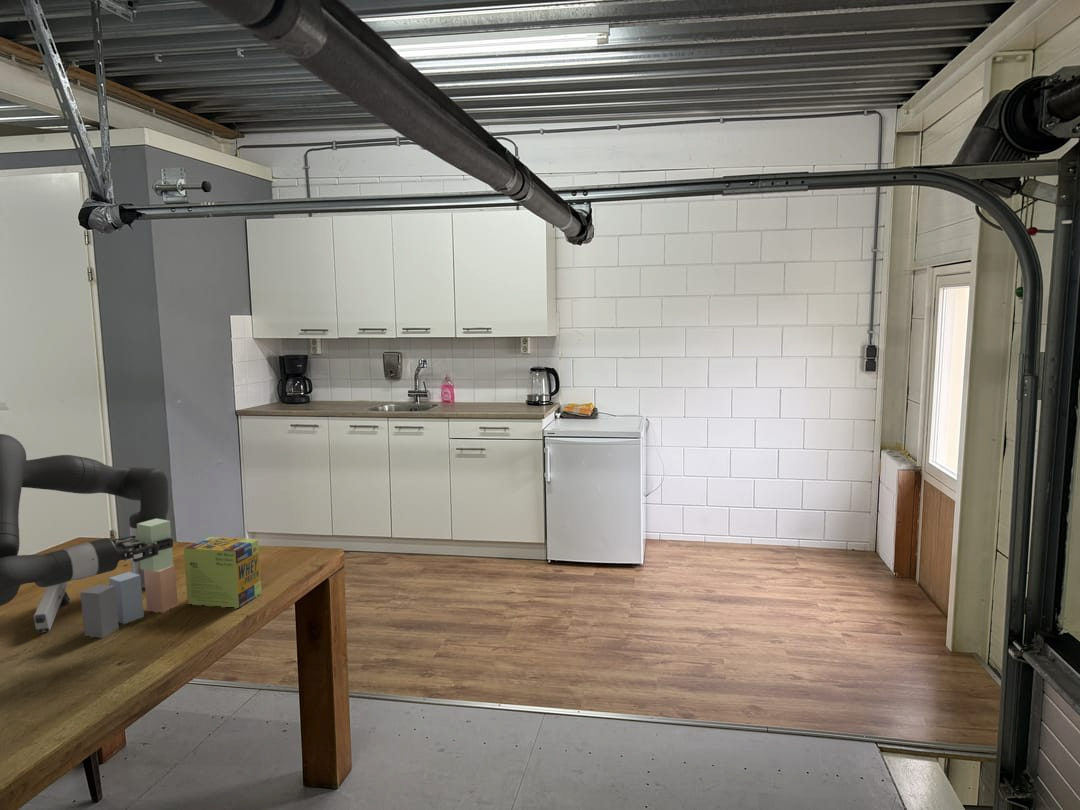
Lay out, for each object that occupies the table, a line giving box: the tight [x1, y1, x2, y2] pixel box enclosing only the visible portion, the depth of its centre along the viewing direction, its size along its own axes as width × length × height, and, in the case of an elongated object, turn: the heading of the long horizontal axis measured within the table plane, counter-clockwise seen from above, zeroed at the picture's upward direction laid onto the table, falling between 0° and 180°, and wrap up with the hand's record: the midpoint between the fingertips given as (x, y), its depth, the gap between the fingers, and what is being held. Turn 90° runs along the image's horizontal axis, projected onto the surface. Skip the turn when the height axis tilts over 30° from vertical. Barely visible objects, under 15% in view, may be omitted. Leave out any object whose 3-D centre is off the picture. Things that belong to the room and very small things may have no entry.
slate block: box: [108, 571, 145, 625], centre depth 179 cm, size 5×5×11 cm
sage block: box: [137, 518, 174, 572], centre depth 170 cm, size 5×5×11 cm
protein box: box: [183, 536, 262, 609], centre depth 190 cm, size 10×15×16 cm
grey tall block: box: [79, 584, 120, 639], centre depth 171 cm, size 5×5×11 cm
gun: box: [33, 581, 71, 634], centre depth 181 cm, size 2×25×10 cm, turn 21°
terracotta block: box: [144, 564, 179, 614], centre depth 185 cm, size 5×5×11 cm
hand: (165, 539), depth 172 cm, fingers closed on sage block, 5 cm apart
